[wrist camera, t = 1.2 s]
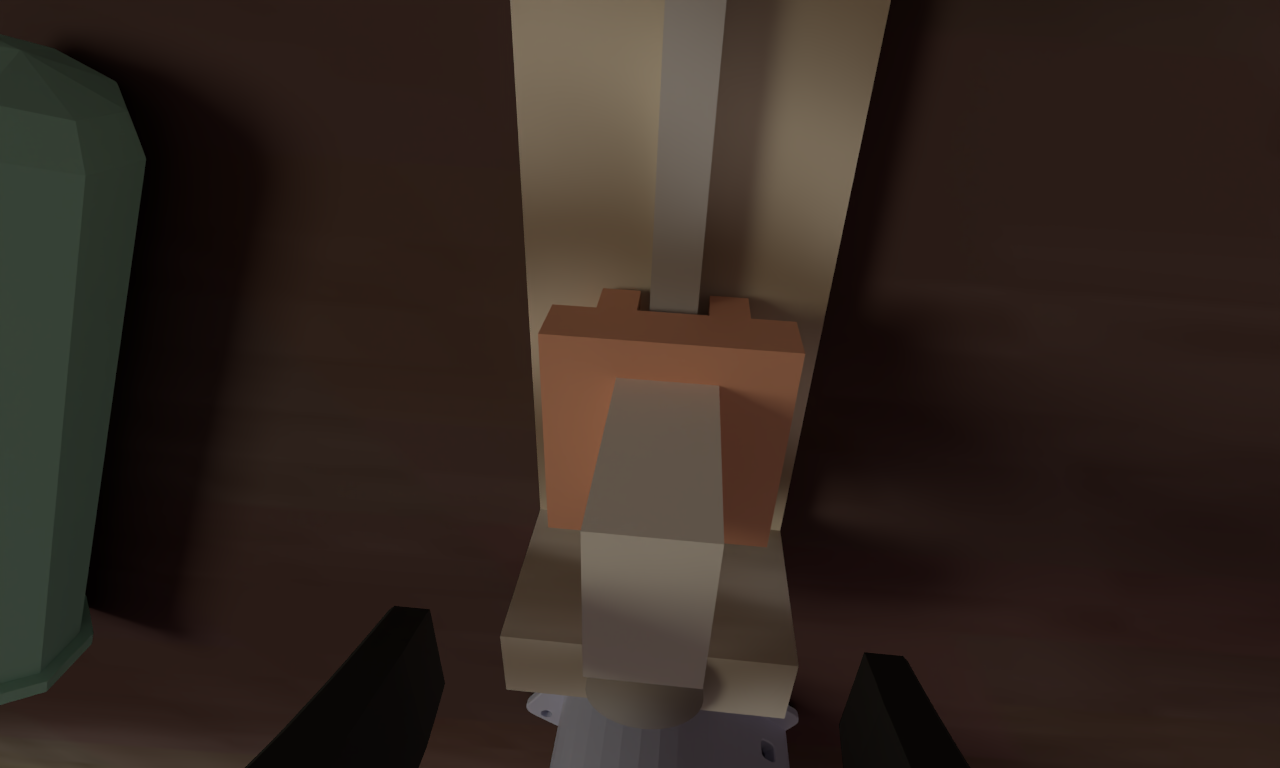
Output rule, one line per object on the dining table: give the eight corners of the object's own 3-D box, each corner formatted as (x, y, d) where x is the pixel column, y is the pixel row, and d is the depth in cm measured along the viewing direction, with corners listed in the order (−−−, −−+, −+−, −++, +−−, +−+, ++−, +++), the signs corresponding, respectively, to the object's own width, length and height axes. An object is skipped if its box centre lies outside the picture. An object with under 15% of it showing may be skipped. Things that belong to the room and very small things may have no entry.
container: (-285, 11, 11) (-148, 717, 23) (141, 154, 14) (65, 712, 26) (-91, -47, 15) (-61, 574, 27) (203, 73, 18) (113, 584, 30)
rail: (765, 562, 24) (783, 744, 18) (550, 542, 24) (502, 713, 18) (947, -353, 11) (1184, -686, 6) (505, -360, 12) (322, -676, 6)
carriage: (759, 479, 20) (786, 727, 13) (566, 463, 20) (498, 696, 14) (791, 301, 17) (846, 509, 10) (561, 285, 17) (468, 475, 10)
